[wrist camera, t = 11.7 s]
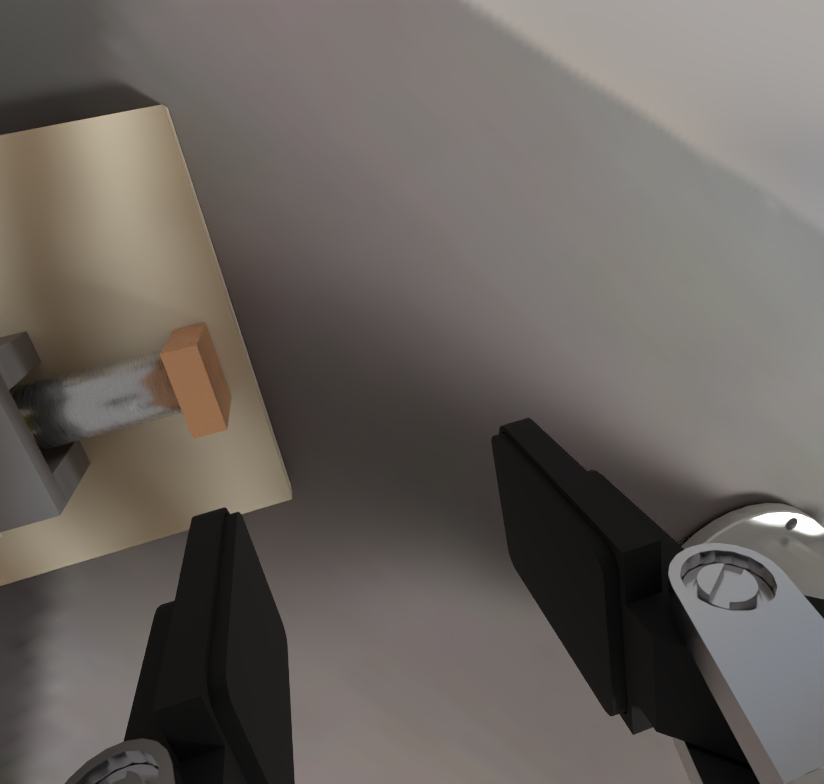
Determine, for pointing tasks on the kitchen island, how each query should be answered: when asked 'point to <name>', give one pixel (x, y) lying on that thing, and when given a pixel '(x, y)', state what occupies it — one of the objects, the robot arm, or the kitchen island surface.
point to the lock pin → (131, 393)
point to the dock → (114, 342)
